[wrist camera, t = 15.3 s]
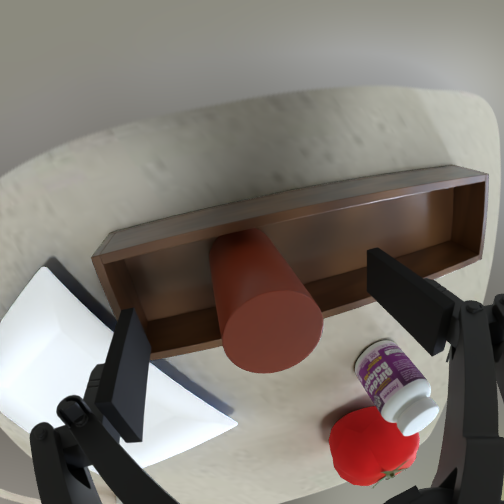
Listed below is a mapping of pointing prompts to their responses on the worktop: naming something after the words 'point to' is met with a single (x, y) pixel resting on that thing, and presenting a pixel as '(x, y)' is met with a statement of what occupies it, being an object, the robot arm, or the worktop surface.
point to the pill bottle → (396, 387)
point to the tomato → (370, 447)
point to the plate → (86, 373)
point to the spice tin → (261, 304)
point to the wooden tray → (295, 247)
